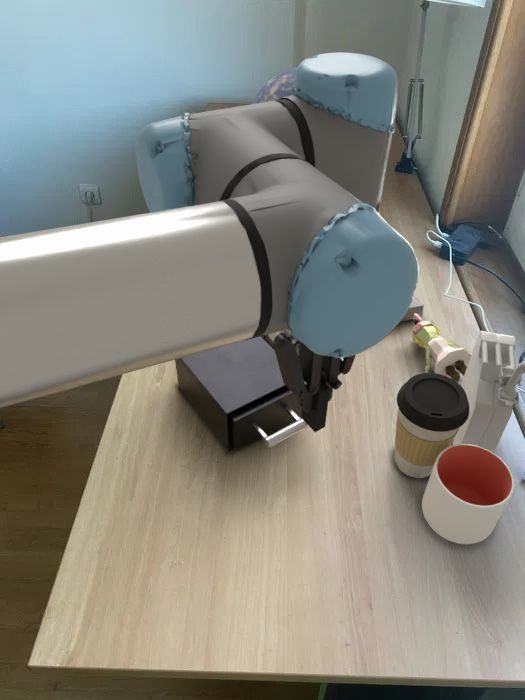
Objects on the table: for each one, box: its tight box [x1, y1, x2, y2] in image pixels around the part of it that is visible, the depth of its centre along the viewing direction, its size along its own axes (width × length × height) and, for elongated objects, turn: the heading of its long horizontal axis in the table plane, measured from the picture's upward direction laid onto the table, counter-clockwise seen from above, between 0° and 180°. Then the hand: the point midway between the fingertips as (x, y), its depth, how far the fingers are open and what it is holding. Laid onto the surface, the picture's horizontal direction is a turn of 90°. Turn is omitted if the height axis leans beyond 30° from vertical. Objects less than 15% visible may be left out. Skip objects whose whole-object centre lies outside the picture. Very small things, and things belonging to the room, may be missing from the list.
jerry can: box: [452, 330, 525, 454], centre depth 81 cm, size 15×5×25 cm, turn 165°
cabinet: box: [174, 336, 288, 452], centre depth 93 cm, size 17×14×9 cm
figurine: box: [409, 313, 472, 383], centre depth 101 cm, size 9×7×15 cm
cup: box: [421, 444, 515, 545], centre depth 76 cm, size 10×10×10 cm
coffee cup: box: [394, 372, 470, 479], centre depth 82 cm, size 10×10×15 cm
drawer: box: [230, 388, 308, 451], centre depth 90 cm, size 21×13×7 cm, turn 34°
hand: (312, 422), depth 66 cm, fingers closed
